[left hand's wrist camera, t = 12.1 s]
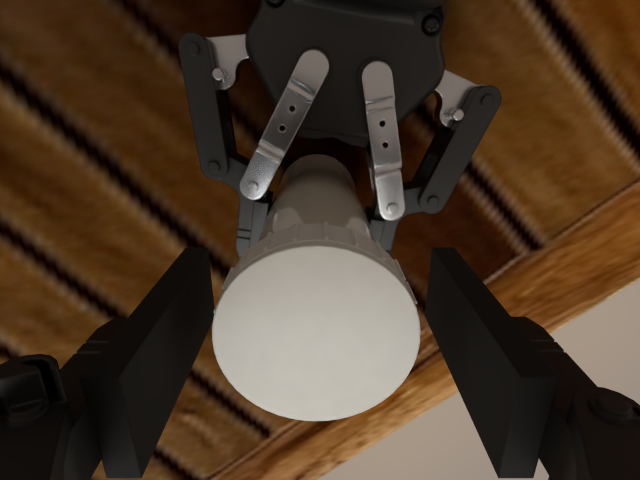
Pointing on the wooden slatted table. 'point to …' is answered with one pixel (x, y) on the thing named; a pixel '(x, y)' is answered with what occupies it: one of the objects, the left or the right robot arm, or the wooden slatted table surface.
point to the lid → (316, 323)
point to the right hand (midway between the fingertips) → (309, 270)
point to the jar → (317, 197)
